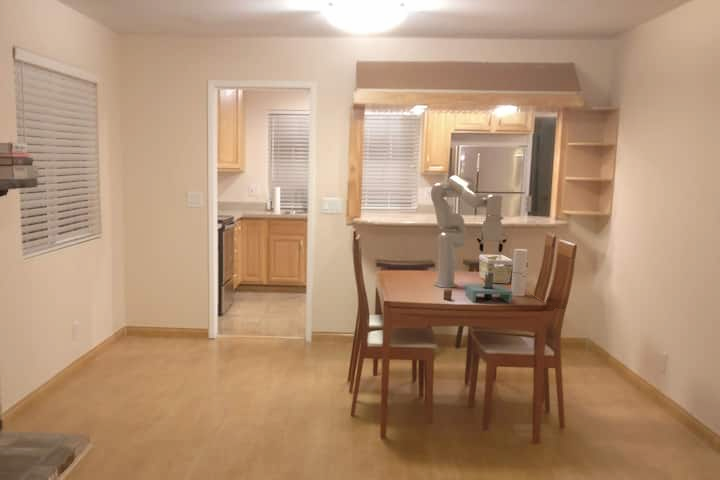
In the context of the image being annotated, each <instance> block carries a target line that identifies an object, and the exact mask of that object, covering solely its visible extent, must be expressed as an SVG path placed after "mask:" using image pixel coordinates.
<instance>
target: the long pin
mask: <svg viewBox="0 0 720 480" xmlns="http://www.w3.org/2000/svg"><path fill="white" fill-rule="evenodd" d="M484 285H485V289H492V288H493V285H494V283H493V273H491V272H486V274H485V280H484ZM483 300H485V301H491V300H493V294H483Z"/></svg>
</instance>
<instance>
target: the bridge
mask: <svg viewBox="0 0 720 480" xmlns="http://www.w3.org/2000/svg"><path fill="white" fill-rule="evenodd" d="M479 294H480V295H484V294H492V295H499V297H500V298H501V299H502V300H503V301H505V302H507V304H512V302H513V301H512V299H513V295H512V291H511V290H510V289H509V288H508V287H506V286H505V285H498V284H493V288H492V289H485V284H470V283H469V284H466V285H465V296H466V297H467V298H468V300H469V301H471V302H472V303H476V302H477V301H476V300H477V295H479Z"/></svg>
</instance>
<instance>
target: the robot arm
mask: <svg viewBox="0 0 720 480" xmlns="http://www.w3.org/2000/svg"><path fill="white" fill-rule="evenodd" d="M474 182H475V181H474V179H473V177H472V176H470V175H467V174H466V175H465V174H454V175H451V176H450V177H449V178H448V181H447V182H444V181H443V182H441V181H440V182H437V183H434V185H432V187H431V191H430V198H431V202H432V204H433V207H434V212H435V216H436V223H437V227H438V228H439V229H440V230H443V231H442V232H441V233H439V234H438V236H437V243H438V261H437V264H438V265H437V266H438V267H437V281H435V282H434V286H435V287H440V288H446V289H448V288H449V289H450V288H456V287H457V283H455V271H456V253H455V251H454V248H455V249H456V248H464V247H465V246H467V242H468V235H467V230H466V229H467V228H466V225H465V224H466V223H465V220H464V217H463V216H462V215H461V214H460V213H456V212H455V213H454V212H451V209H450V204H449V202H448V201H447V200H446V199H445V198H458V197H461V198H462V201H463V203H465V204H467V205H468V206H469V207H472V208H477V209H478V208H480V209H481V208H482V209H486V210H485V220H483V222H482V227H481V231H480V232H478V233H476V234H474V237H475V239H476V241H477V242H478V243H479V247H478V248H479V249H478V250H479V251H480V252H484V242H485V241H487V242H489V241H491V242H492V241H493V242H498V243H499V244H498V250H497V251H498V252H499V253H502V251H503V247H504V246H503V245H504V244H505V243H506V242H507V241H508V239H509V235H507V234H505V233H503V222H502V220H504V216H502V207H503V206H502V203H503V202H502V201H503V197H502V195H501V194H493V193H485V192H484V193H483V192H482V193H480V192H475V191H476V185H475V183H474ZM444 230H445V231H444ZM447 230H448V231H447ZM503 237H504V239H503ZM502 239H503V240H502Z"/></svg>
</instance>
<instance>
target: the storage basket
mask: <svg viewBox="0 0 720 480" xmlns="http://www.w3.org/2000/svg"><path fill="white" fill-rule="evenodd" d="M478 259H479V266H478V267H479V268H478V269H479V273H478V274H479V278H480V279H482V280H483V281H485V274H486V272H491V273H493V284H509V283H510V282H511V278H512V271H513V259H512V258H509V257H508V256H505V255H504V254H484V253H483V254H479V256H478Z"/></svg>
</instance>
